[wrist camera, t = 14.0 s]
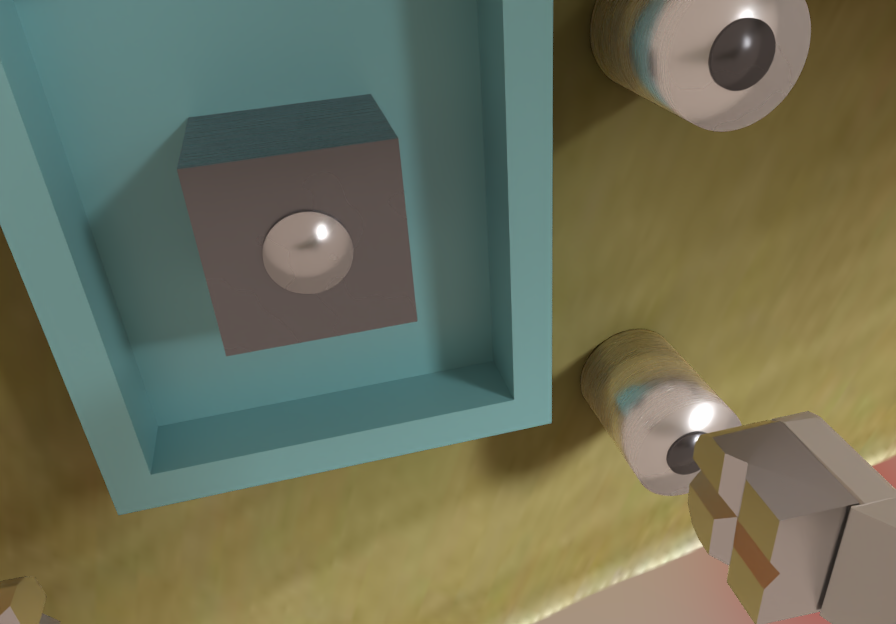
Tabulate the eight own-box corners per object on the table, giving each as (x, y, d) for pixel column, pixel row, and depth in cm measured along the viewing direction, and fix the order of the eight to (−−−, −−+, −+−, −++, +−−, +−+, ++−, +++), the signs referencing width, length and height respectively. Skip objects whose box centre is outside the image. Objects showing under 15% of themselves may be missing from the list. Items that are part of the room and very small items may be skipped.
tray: (508, -180, 18) (553, -190, 15) (521, 370, 26) (551, 423, 23) (-87, -138, 16) (-149, -142, 13) (131, 448, 24) (118, 515, 21)
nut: (371, 93, 19) (399, 139, 16) (390, 253, 22) (418, 323, 18) (188, 117, 19) (176, 171, 15) (228, 280, 21) (226, 358, 18)
